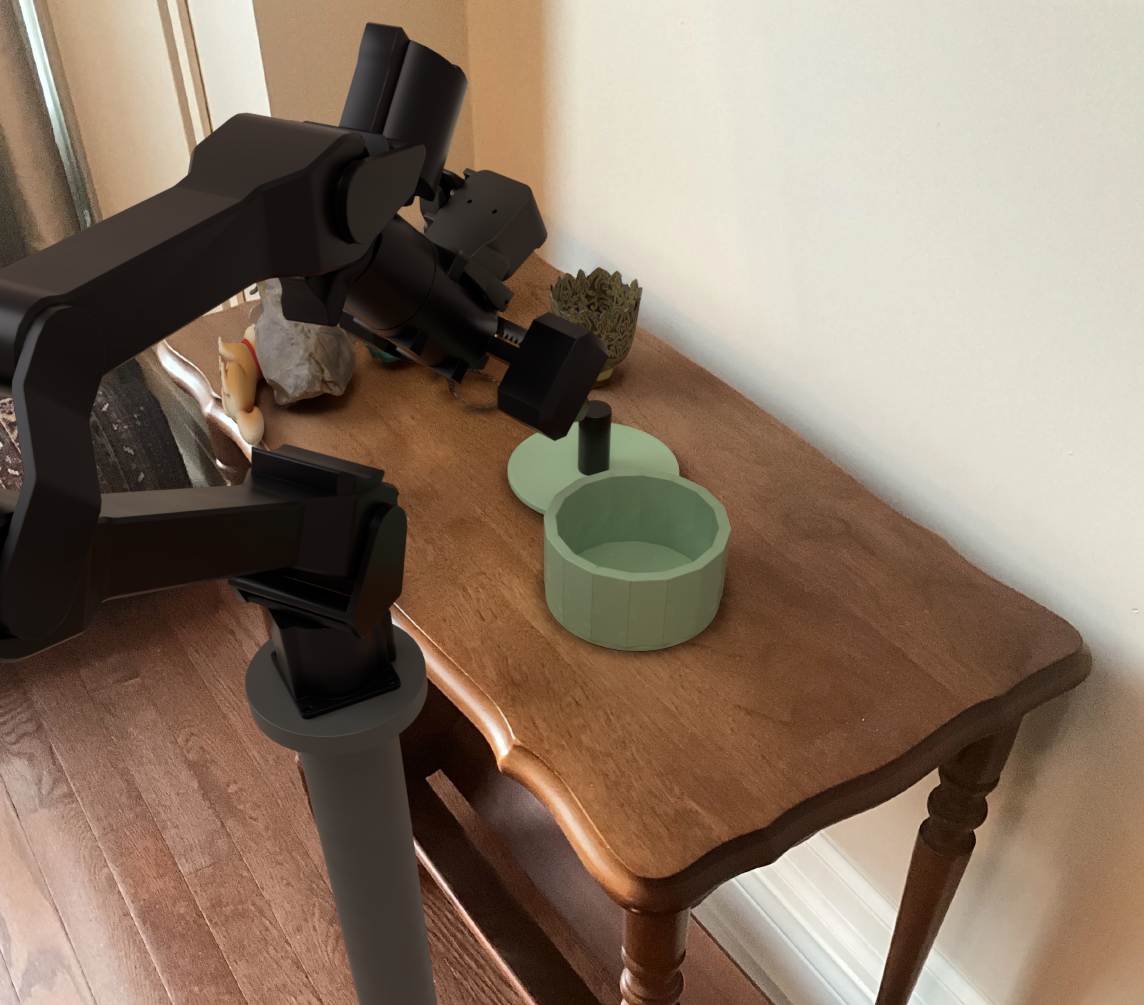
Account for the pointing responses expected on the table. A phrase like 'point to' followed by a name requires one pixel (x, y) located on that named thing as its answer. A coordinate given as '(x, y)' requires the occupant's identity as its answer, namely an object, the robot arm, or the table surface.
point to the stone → (300, 352)
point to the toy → (241, 385)
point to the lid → (583, 456)
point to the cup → (600, 311)
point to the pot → (635, 558)
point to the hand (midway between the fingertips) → (533, 386)
